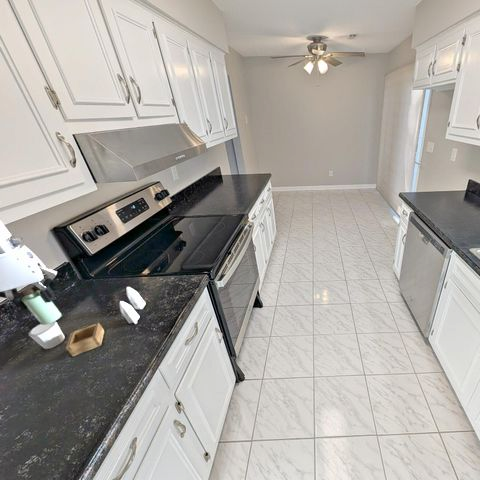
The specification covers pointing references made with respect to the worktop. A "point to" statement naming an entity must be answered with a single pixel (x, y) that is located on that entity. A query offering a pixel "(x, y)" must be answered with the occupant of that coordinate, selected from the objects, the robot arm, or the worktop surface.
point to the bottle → (39, 305)
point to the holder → (85, 339)
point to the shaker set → (128, 309)
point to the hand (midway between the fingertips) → (38, 302)
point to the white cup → (47, 335)
